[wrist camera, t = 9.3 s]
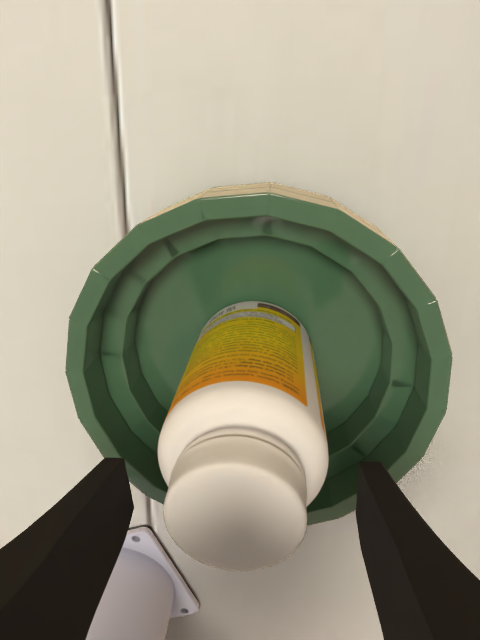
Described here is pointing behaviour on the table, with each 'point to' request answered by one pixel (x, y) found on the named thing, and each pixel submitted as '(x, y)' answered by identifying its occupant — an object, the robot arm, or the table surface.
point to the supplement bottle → (244, 440)
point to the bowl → (272, 287)
